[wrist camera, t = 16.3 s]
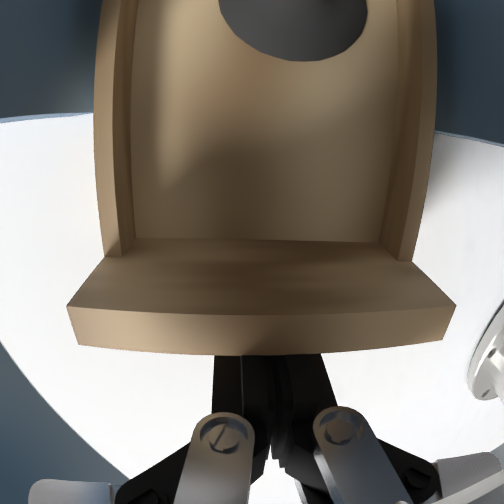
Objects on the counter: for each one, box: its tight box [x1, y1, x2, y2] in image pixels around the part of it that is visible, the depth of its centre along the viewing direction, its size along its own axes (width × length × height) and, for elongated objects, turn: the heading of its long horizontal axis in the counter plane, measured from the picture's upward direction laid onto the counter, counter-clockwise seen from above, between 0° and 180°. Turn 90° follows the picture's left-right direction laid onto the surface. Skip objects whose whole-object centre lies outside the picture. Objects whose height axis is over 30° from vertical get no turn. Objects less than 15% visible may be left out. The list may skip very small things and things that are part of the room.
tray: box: [66, 0, 456, 356], centre depth 7 cm, size 10×14×5 cm
